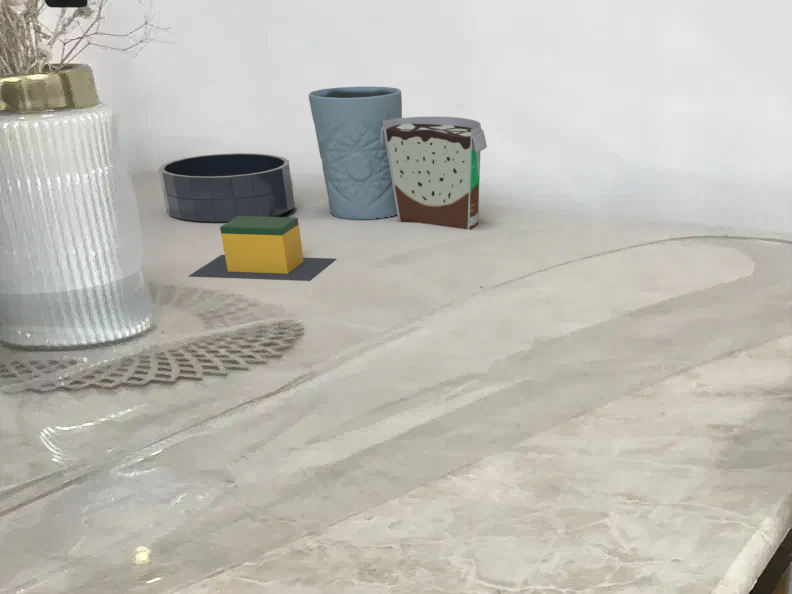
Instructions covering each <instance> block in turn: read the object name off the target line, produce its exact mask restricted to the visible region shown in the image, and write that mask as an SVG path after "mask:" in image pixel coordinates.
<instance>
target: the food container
mask: <svg viewBox="0 0 792 594" xmlns="http://www.w3.org/2000/svg"><path fill="white" fill-rule="evenodd" d="M485 135H486V134H485V132H484V129H483V128H482V126H481V122H480V121H478V120H476V119H470V118H465V117H455V116H409V117H402V118H398V119H391V120H385V121H383V128H381V143H383V142H386V147H387V154H388V160H389V166H390V172H391V178H392V184H393V190H394V197H395V203H396V209H397V215H396V216H397V221H398V223H414V224H415V223H416V224H424V225H425V224H426V225H432V226H438V227H439V226H440V227H447V228H455V229H461V230H468V231H471V230H472V229H475V228H476V227H477V226H478V225H479V207H480V206H479V205H480V204H479V203H480V177H481V175H480V174H481V152H482V151H484V150H486V149H487V147H488V144H487V140H486V136H485Z"/></svg>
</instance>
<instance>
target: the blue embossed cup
mask: <svg viewBox="0 0 792 594" xmlns="http://www.w3.org/2000/svg"><path fill="white" fill-rule="evenodd" d="M402 96H403V95H402V90H401V89H399V88H397V87H390V86H387V87H386V86H345V87H344V86H343V87H330V88H321V89H318V90H313V91H311V92H309V93H308V102H309V106H310V112H311V117H312V120H313V125H314V131H315V136H316V142H317V146H318V152H319V155H320V156H319V157H320V159H321V165H322V173H323V177H324V182H325V187H326V192H327V193H326V194H327V198H328V206H329V211H330V214H331V215H332V216H334V217H337V218H340V219H346V220H347V219H348V220H377V219H376V218H379V219H386V218H385V217H387V218H391V216H392V217H396V216H398V215H397V209H396V203H395V197H394V190H393V184H392V178H391V172H390V166H389V160H388V154H387V147H386V142H383V143H381V128H383V121H385V120H391V119H398V118H403V103H402V99H403V98H402ZM395 215H396V216H395Z"/></svg>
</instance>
